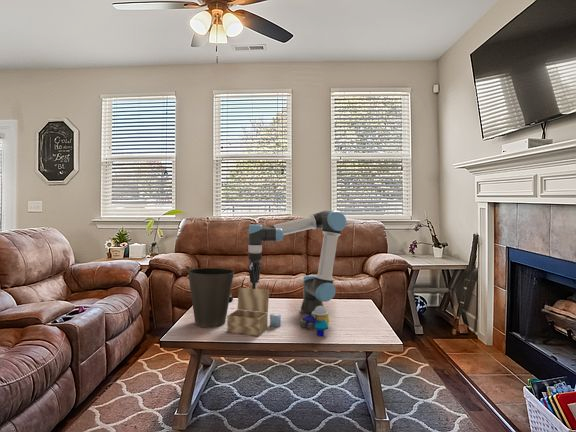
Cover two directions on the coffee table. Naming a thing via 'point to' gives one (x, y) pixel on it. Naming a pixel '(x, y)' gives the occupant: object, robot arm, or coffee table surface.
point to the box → (247, 322)
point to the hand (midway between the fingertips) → (254, 294)
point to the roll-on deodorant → (275, 320)
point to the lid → (253, 299)
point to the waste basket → (210, 295)
